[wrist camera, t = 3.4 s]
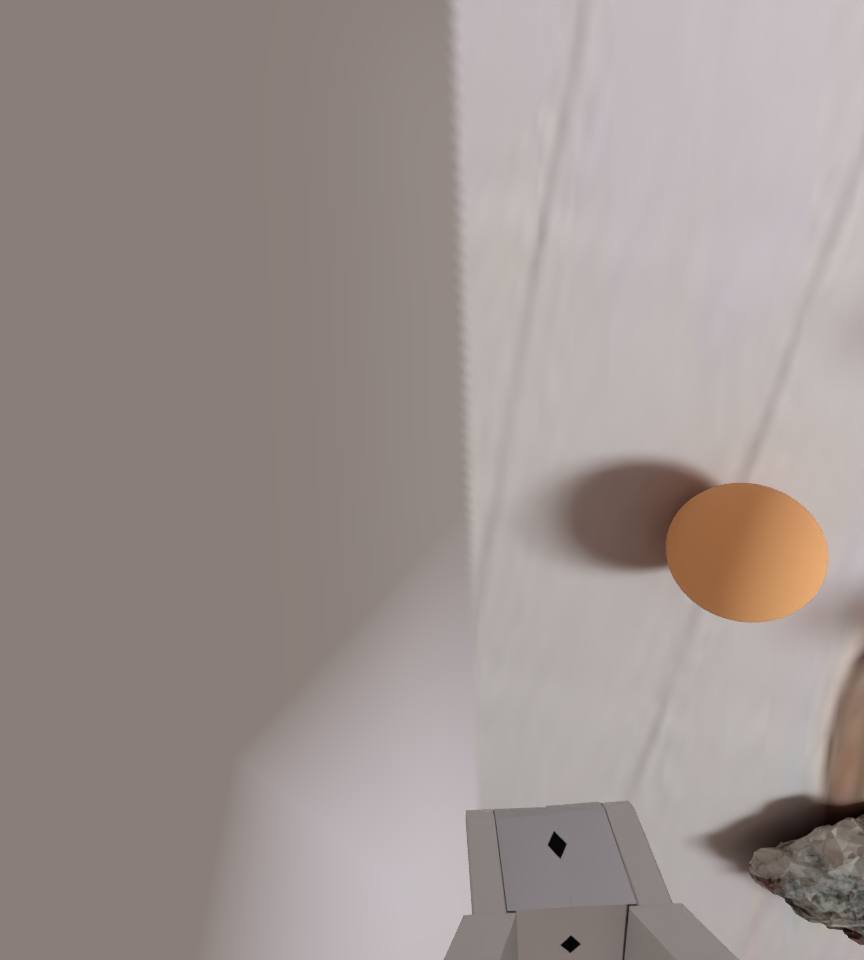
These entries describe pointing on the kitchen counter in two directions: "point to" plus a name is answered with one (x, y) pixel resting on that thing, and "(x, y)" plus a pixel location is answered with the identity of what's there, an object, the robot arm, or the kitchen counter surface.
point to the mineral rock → (819, 875)
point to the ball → (746, 552)
